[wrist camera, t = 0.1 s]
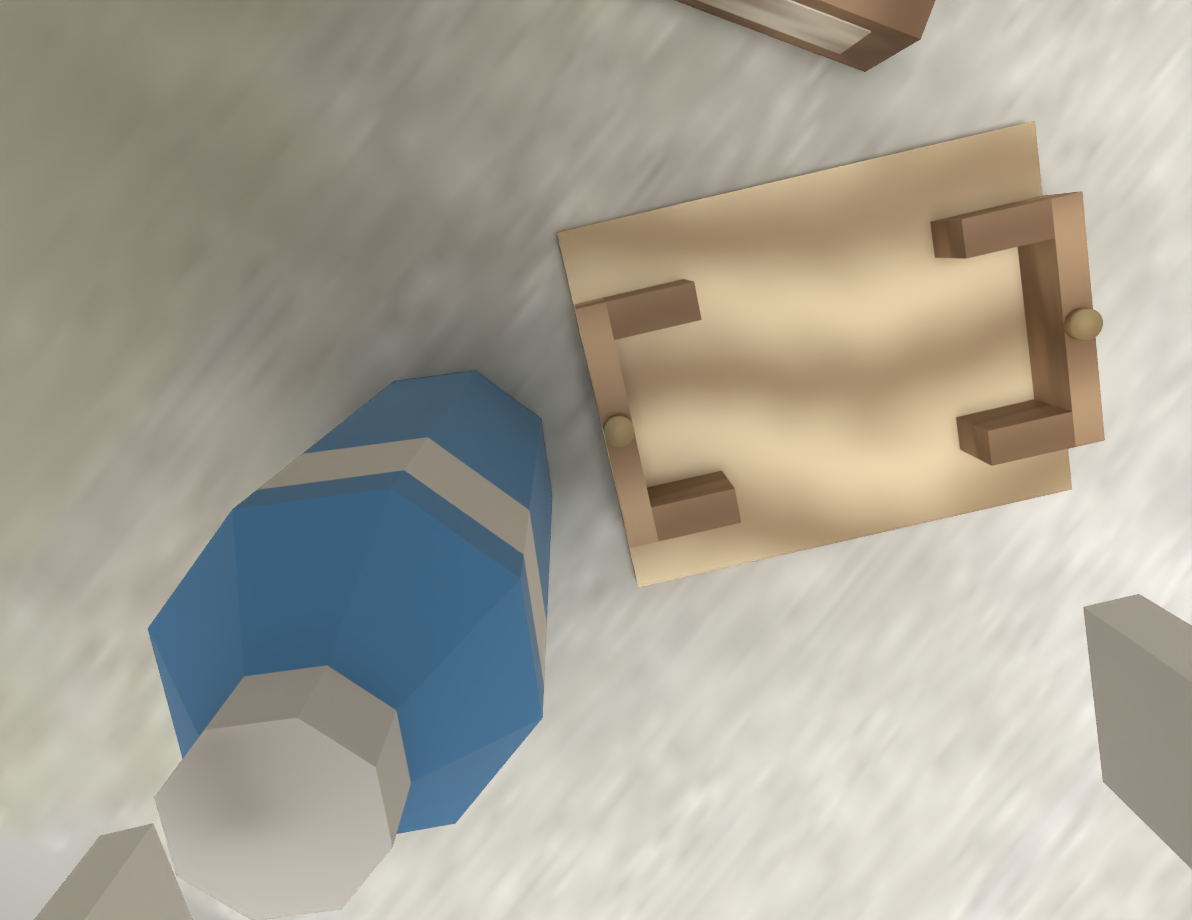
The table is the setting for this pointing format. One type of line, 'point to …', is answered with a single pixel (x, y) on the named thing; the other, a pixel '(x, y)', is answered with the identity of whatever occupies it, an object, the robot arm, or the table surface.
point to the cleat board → (839, 352)
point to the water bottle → (357, 646)
